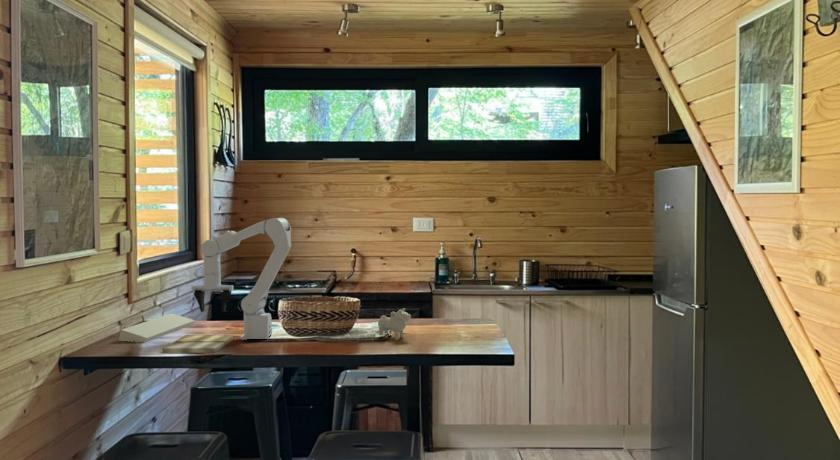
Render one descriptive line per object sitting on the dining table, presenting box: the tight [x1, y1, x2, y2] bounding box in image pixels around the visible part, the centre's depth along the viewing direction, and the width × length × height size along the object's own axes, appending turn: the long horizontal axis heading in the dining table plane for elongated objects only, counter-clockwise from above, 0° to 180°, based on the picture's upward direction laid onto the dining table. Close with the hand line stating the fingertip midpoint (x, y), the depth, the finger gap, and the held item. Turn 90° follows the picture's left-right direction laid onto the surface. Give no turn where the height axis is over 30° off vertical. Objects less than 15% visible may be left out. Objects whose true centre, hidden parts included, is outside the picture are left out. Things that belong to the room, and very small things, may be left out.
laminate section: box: [162, 341, 226, 354], centre depth 224 cm, size 17×10×2 cm, turn 89°
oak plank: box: [174, 334, 235, 346], centre depth 234 cm, size 17×10×2 cm, turn 89°
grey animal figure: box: [377, 307, 412, 341], centre depth 241 cm, size 5×13×11 cm, turn 60°
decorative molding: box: [118, 313, 195, 343], centre depth 253 cm, size 34×5×10 cm
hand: (213, 311), depth 243 cm, fingers open, 7 cm apart
